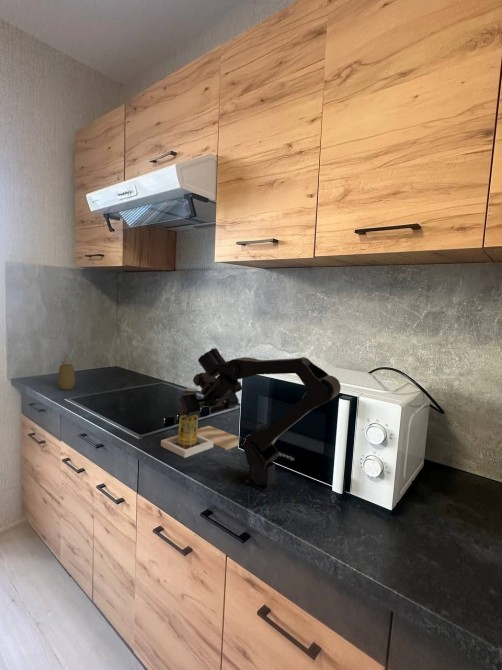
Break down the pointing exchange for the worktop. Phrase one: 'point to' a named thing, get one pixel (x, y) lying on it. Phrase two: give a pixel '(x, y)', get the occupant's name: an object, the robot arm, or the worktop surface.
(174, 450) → the collar
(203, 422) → the worktop surface
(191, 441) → the sauce bottle
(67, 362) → the squeeze bottle
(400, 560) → the worktop surface
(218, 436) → the wooden board
